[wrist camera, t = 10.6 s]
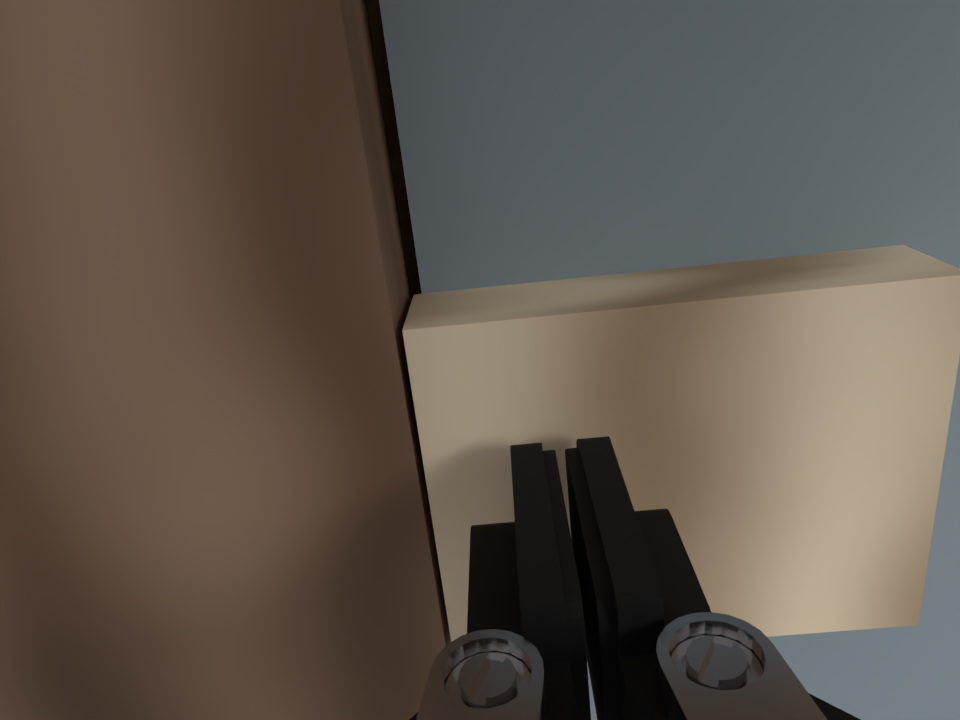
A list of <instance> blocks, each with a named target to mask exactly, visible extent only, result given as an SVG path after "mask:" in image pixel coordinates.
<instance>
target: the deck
mask: <svg viewBox="0 0 960 720" xmlns="http://www.w3.org/2000/svg"><path fill="white" fill-rule="evenodd" d="M410 305H411V296H410V289H409V282H408V276H407V269H406V263H405V256H404V250H403V243H402V236H401V230H400V223H399V217H398V210H397V204H396V197H395V190H394V184H393V177H392V171H391V164H390V158H389V151H388V144H387V138H386V131H385V125H384V118H383V112H382V105H381V98H380V92H379V85H378V79H377V72H376V65H375V59H374V52H373V46H372V39H371V33H370V26H369V19H368V13H367V6H366V0H0V720H409V719H410V718H412V717H413V716H414V715H415V714H416V713H417V712H419V708H420V704H421V701H422V697H423V694H424V690H425V687H426V683H427V680H428V676H429V672H430V669H431V667H432V665H433V663H434V661H435V658H436V656H437V655H438V654H439V653H440V652H441V651H442V650H443V649H444V648H445V646H446V645H447V644H449V643H450V642H451V637H450V631H449V624H448V618H447V612H446V605H445V599H444V592H443V586H442V580H441V573H440V567H439V561H438V554H437V548H436V542H435V535H434V529H433V523H432V516H431V510H430V504H429V497H428V491H427V485H426V478H425V472H424V465H423V459H422V453H421V446H420V440H419V434H418V427H417V421H416V415H415V408H414V402H413V396H412V389H411V383H410V377H409V370H408V364H407V358H406V351H405V345H404V338H403V332H402V330H403V326H404V323H405V320H406V317H407V314H408V311H409V308H410Z"/></svg>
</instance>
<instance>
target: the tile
mask: <svg viewBox="0 0 960 720" xmlns="http://www.w3.org/2000/svg"><path fill="white" fill-rule="evenodd" d="M402 332H403V338H404V345H405V351H406V358H407V364H408V370H409V377H410V383H411V389H412V396H413V402H414V408H415V415H416V421H417V427H418V434H419V440H420V446H421V453H422V459H423V465H424V472H425V478H426V485H427V491H428V497H429V504H430V510H431V516H432V523H433V529H434V535H435V542H436V548H437V554H438V561H439V567H440V573H441V580H442V586H443V592H444V599H445V605H446V612H447V618H448V624H449V631H450V637H451V642H452V641H454V640H455V639H457V638H459V637H460V636H462V635H465V634H467V614H468V585H469V557H470V531H471V526H472V525H482V524H493V523H505V522H515V517H514V501H513V485H512V469H511V453H510V445H520V444H530V443H542V448H543V451H546V450H555V452H556V457H557V463H558V468H559V474H560V479H561V485H562V490H563V496H564V502H565V507H566V513H567V518H568V524H569V529H570V535H571V528H570V514H569V501H568V487H567V474H566V461H565V449H568V448H576V441H577V439H585V438H595V437H606V436H609V437H610V440H611V443H612V446H613V449H614V452H615V455H616V458H617V461H618V464H619V467H620V469H621V472H622V475H623V478H624V481H625V484H626V487H627V490H628V493H629V496H630V499H631V502H632V505H633V508H634V511H642V510H654V509H665V508H666V509H668V510H669V512H670V514H671V516H672V518H673V520H674V523H675V525H676V528H677V530H678V532H679V535H680V537H681V540H682V542H683V544H684V547H685V549H686V552H687V554H688V556H689V559H690V561H691V564H692V566H693V569H694V571H695V573H696V576H697V578H698V581H699V583H700V585H701V588H702V590H703V593H704V595H705V597H706V600H707V602H708V605H709V607H710V610H711V612H714V613H721V614H728V615H731V616H733V617H736V618H739V619H742V620H745V621H746V622H748V623H750V624H751V625H753V626H754V627H756V628H758V629H759V630H761V631H762V632H763V634H764V635H765V636H766V637H771V636H784V635H797V634H810V633H823V632H836V631H849V630H862V629H875V628H889V627H902V626H915V625H918V623H919V616H920V610H921V603H922V597H923V590H924V584H925V577H926V571H927V564H928V558H929V551H930V545H931V538H932V532H933V525H934V519H935V512H936V506H937V499H938V493H939V486H940V480H941V473H942V467H943V460H944V454H945V447H946V441H947V434H948V428H949V421H950V415H951V408H952V402H953V395H954V389H955V382H956V376H957V369H958V363H959V356H960V269H959V268H957V267H955V266H952V265H950V264H948V263H945V262H943V261H940V260H938V259H936V258H933V257H931V256H929V255H926V254H924V253H921V252H919V251H917V250H914V249H912V248H910V247H907V246H905V245H897V246H887V247H877V248H867V249H857V250H847V251H838V252H828V253H818V254H808V255H798V256H788V257H779V258H769V259H759V260H749V261H739V262H729V263H719V264H710V265H700V266H690V267H680V268H670V269H660V270H651V271H641V272H631V273H621V274H611V275H601V276H592V277H582V278H572V279H562V280H552V281H542V282H532V283H523V284H513V285H503V286H493V287H483V288H473V289H464V290H454V291H444V292H434V293H424V294H414V296H413V299H412V302H411V305H410V308H409V311H408V314H407V317H406V320H405V323H404V326H403V330H402Z"/></svg>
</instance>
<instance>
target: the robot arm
mask: <svg viewBox="0 0 960 720" xmlns="http://www.w3.org/2000/svg"><path fill="white" fill-rule="evenodd" d="M510 453H511V469H512V485H513V501H514V517H515V522H505V523H493V524H482V525H472V526H471V531H470V557H469V585H468V614H467V634H465V635H462V636H460V637H459V638H457V639H455V640H454V641H452V642H450V643H449V644H447V645H446V646H445V648H444V649H443V650H442V651H441V652H440V653H439V654H438V655H437V656H436V658H435V661H434V663H433V665H432V667H431V669H430V672H429V676H428V680H427V683H426V687H425V690H424V694H423V697H422V701H421V704H420V708H419V712H417V713H416V714H415V715H414V716H413V717H412V718H410V719H409V720H591V711H590V696H589V682H588V668H589V674H590V680H591V686H592V692H593V698H594V703H595V709H596V715H597V720H861V719H859V718H857V717H855V716H853V715H851V714H849V713H847V712H845V711H843V710H841V709H839V708H837V707H835V706H833V705H831V704H829V703H827V702H825V701H823V700H821V699H819V698H817V697H815V696H814V695H812V694H810V693H808V692H807V691H806V689H805V688H804V686H803V685H802V684H801V682H800V681H799V679H798V678H797V677H796V675H795V674H794V672H793V671H792V670H791V668H790V667H789V665H788V664H787V663H786V661H785V660H784V658H783V657H782V656H781V654H780V653H779V651H778V650H777V649H776V647H775V646H774V644H773V643H772V642H771V641H770V640H769V639H768V638H767V637H766V636H765V635H764V634H763V632H762V631H761V630H759V629H758V628H756V627H754V626H753V625H751V624H750V623H748V622H746V621H745V620H742V619H739V618H736V617H733V616H731V615H728V614H721V613H714V612H711V610H710V607H709V605H708V602H707V600H706V597H705V595H704V593H703V590H702V588H701V585H700V583H699V581H698V578H697V576H696V573H695V571H694V569H693V566H692V564H691V561H690V559H689V556H688V554H687V552H686V549H685V547H684V544H683V542H682V540H681V537H680V535H679V532H678V530H677V528H676V525H675V523H674V520H673V518H672V516H671V514H670V512H669V510H668V509H666V508H665V509H654V510H642V511H634V508H633V505H632V502H631V499H630V496H629V493H628V490H627V487H626V484H625V481H624V478H623V475H622V472H621V469H620V467H619V464H618V461H617V458H616V455H615V452H614V449H613V446H612V443H611V440H610V437H609V436H606V437H595V438H585V439H577V441H576V448H568V449H565V461H566V474H567V487H568V501H569V514H570V528H571V535H570V529H569V524H568V518H567V513H566V507H565V502H564V496H563V490H562V485H561V479H560V474H559V468H558V463H557V457H556V452H555V450H546V451H543V448H542V443H530V444H520V445H510ZM587 662H588V668H587Z"/></svg>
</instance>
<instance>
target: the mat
mask: <svg viewBox="0 0 960 720" xmlns="http://www.w3.org/2000/svg"><path fill="white" fill-rule="evenodd" d="M379 4H380V11H381V18H382V25H383V32H384V39H385V46H386V52H387V59H388V66H389V73H390V80H391V87H392V94H393V100H394V107H395V114H396V121H397V128H398V135H399V142H400V148H401V155H402V162H403V169H404V176H405V183H406V190H407V196H408V203H409V210H410V217H411V224H412V231H413V238H414V244H415V251H416V258H417V265H418V272H419V279H420V286H421V292H422V294H424V293H434V292H444V291H454V290H464V289H473V288H483V287H493V286H503V285H513V284H523V283H532V282H542V281H552V280H562V279H572V278H582V277H592V276H601V275H611V274H621V273H631V272H641V271H651V270H660V269H670V268H680V267H690V266H700V265H710V264H719V263H729V262H739V261H749V260H759V259H769V258H779V257H788V256H798V255H808V254H818V253H828V252H838V251H847V250H857V249H867V248H877V247H887V246H897V245H905V246H907V247H910V248H912V249H914V250H917V251H919V252H921V253H924V254H926V255H929V256H931V257H933V258H936V259H938V260H940V261H943V262H945V263H948V264H950V265H952V266H955V267H957V268H959V269H960V0H379ZM767 638H768V639H769V640H770V641H771V642H772V643H773V644H774V646H775V647H776V649H777V650H778V651H779V653H780V654H781V656H782V657H783V658H784V660H785V661H786V663H787V664H788V665H789V667H790V668H791V670H792V671H793V672H794V674H795V675H796V677H797V678H798V679H799V681H800V682H801V684H802V685H803V686H804V688H805V689H806V691H807V692H808V693H810V694H812V695H814V696H815V697H817V698H819V699H821V700H823V701H825V702H827V703H829V704H831V705H833V706H835V707H837V708H839V709H841V710H843V711H845V712H847V713H849V714H851V715H853V716H855V717H857V718H859V719H861V720H960V356H959V363H958V369H957V376H956V382H955V389H954V395H953V402H952V408H951V415H950V421H949V428H948V434H947V441H946V447H945V454H944V460H943V467H942V473H941V480H940V486H939V493H938V499H937V506H936V512H935V519H934V525H933V532H932V538H931V545H930V551H929V558H928V564H927V571H926V577H925V584H924V590H923V597H922V603H921V610H920V616H919V623H918V625H915V626H902V627H889V628H875V629H862V630H849V631H836V632H823V633H810V634H797V635H784V636H771V637H767ZM587 668H588V662H587ZM588 682H589V696H590V711H591V720H597V715H596V709H595V703H594V698H593V692H592V686H591V680H590V674H589V668H588Z"/></svg>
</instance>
